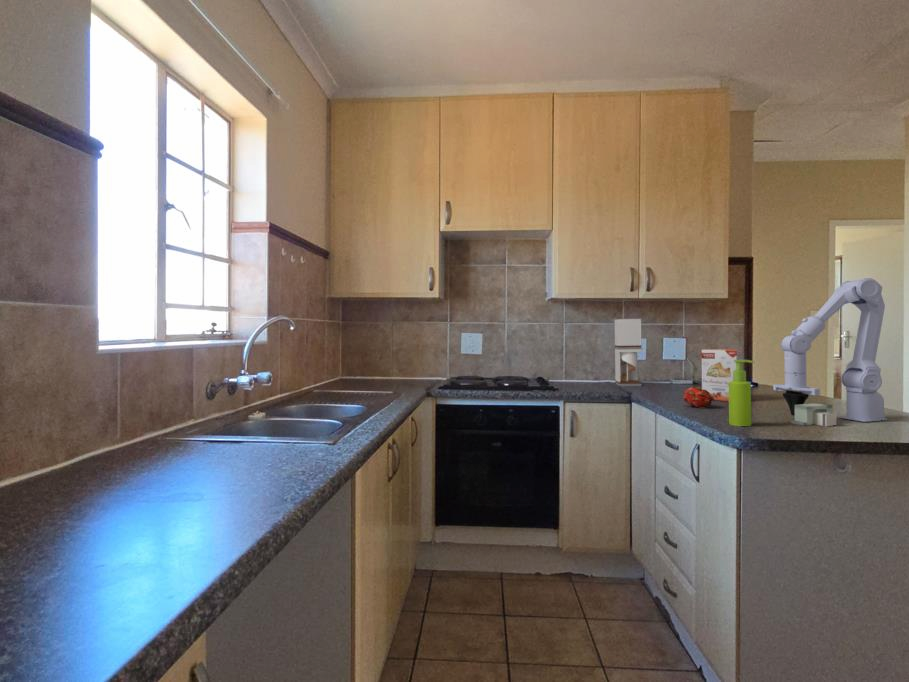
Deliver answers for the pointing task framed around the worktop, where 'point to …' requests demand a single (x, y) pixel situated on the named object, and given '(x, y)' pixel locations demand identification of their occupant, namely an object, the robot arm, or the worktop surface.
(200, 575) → the worktop surface
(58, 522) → the worktop surface
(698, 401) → the dragon fruit
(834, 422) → the bar
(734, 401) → the soap dispenser
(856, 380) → the robot arm
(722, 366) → the cracker box
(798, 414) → the pale green block
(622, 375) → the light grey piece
